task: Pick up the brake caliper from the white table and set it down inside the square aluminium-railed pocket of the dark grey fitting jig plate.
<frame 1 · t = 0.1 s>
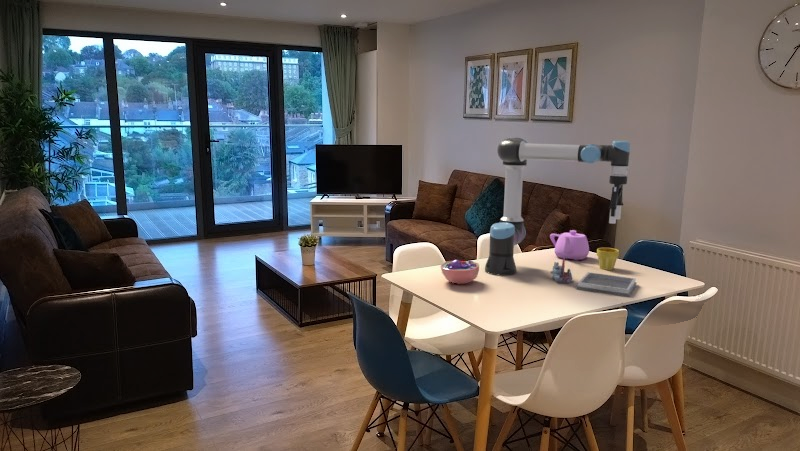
hand: (614, 221, 260), 28 cm above the table, fingers open, 13 cm apart
teapot: (571, 258, 309), on the table
plant pot: (606, 268, 287), on the table
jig: (606, 286, 253), on the table
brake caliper: (561, 281, 262), on the table
cell model: (459, 283, 257), on the table
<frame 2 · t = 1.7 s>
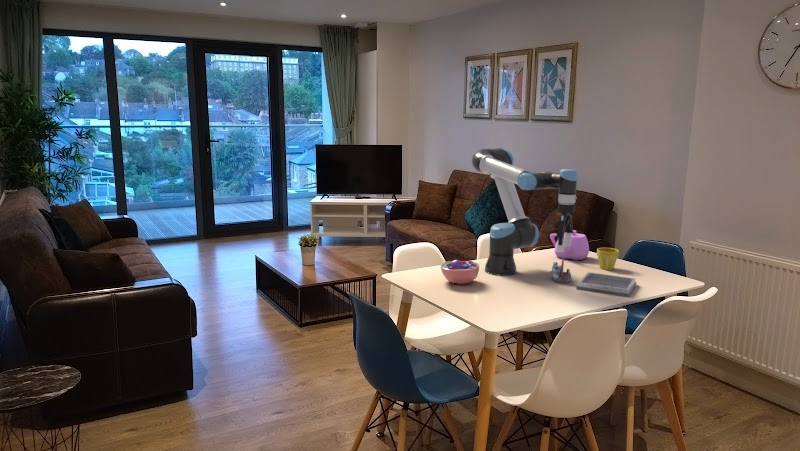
hand: (563, 249, 259), 15 cm above the table, fingers open, 13 cm apart
nothing on the table moved.
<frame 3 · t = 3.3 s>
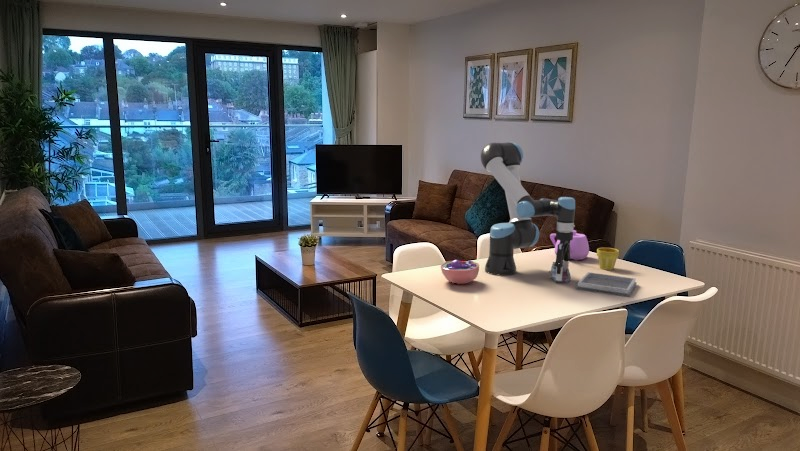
hand: (561, 277, 262), 2 cm above the table, fingers closed on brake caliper, 11 cm apart
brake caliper: (559, 281, 263), on the table, touching gripper
everything else where it was.
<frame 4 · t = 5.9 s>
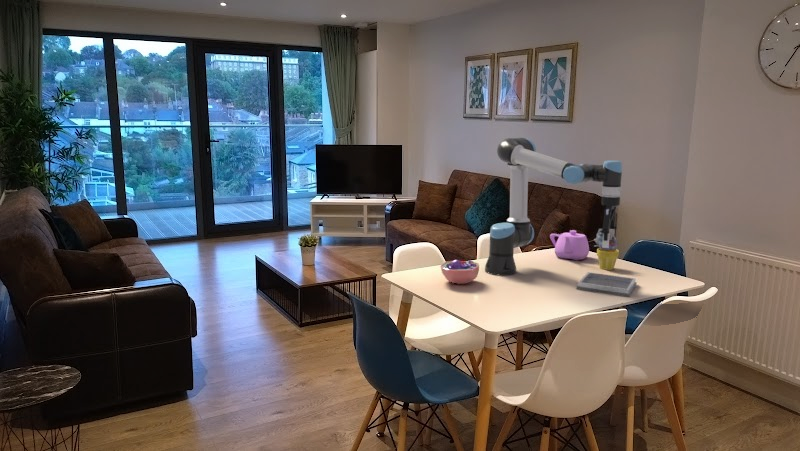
hand: (607, 245, 251), 19 cm above the table, fingers closed on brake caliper, 11 cm apart
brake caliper: (605, 249, 251), point 17 cm above the table, touching gripper
everything else where it was.
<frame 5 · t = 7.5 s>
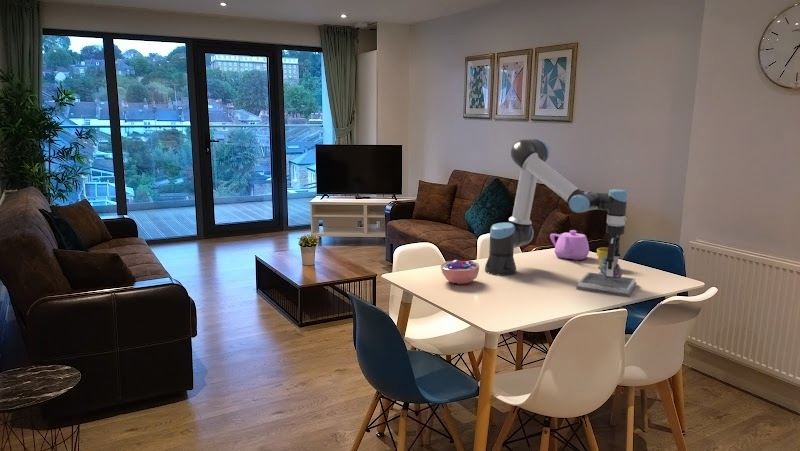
hand: (611, 273, 252), 6 cm above the table, fingers closed on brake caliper, 11 cm apart
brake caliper: (609, 276, 253), point 5 cm above the table, touching gripper
everything else where it was.
when the fingers open (4 cm above the table, at t = 8.7 s): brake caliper drops 1 cm, resting on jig.
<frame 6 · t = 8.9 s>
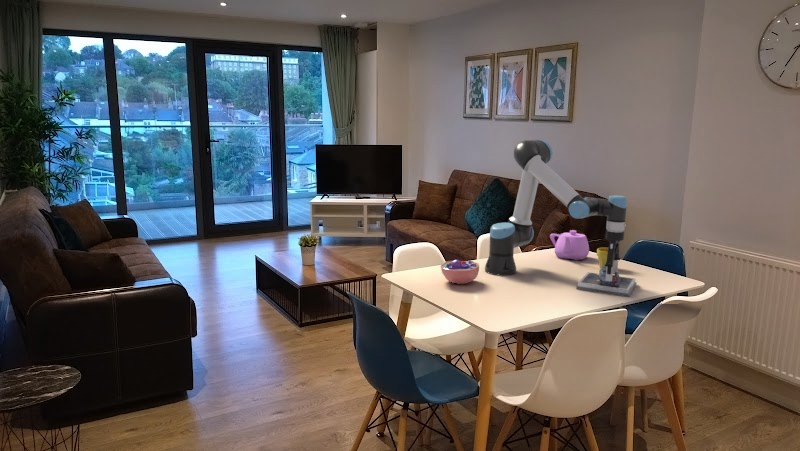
hand: (611, 277, 252), 4 cm above the table, fingers open, 13 cm apart
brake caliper: (608, 284, 254), point 1 cm above the table, touching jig
everything else where it was.
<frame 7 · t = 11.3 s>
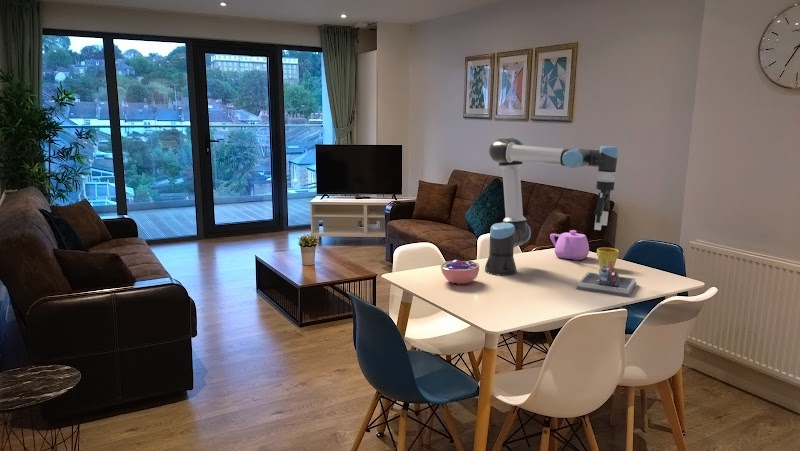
hand: (600, 227, 257), 26 cm above the table, fingers open, 13 cm apart
nothing on the table moved.
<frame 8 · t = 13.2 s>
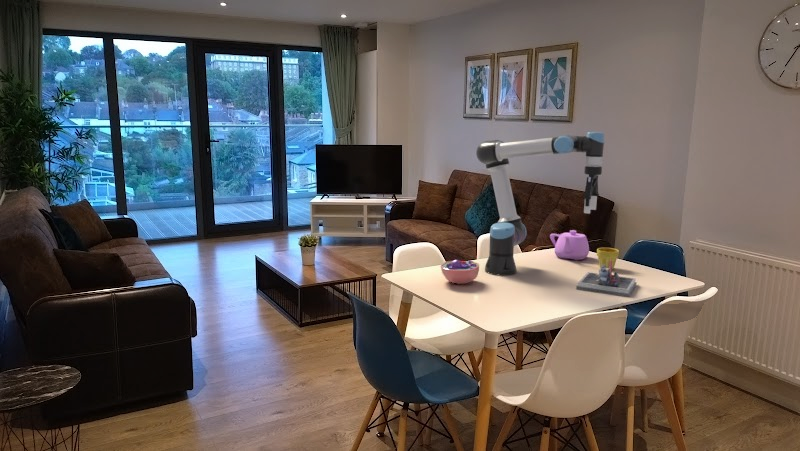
hand: (590, 211, 264), 32 cm above the table, fingers open, 13 cm apart
nothing on the table moved.
at the end: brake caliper inside the target area on the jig (0.7 cm from its centre), point 1.0 cm above the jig's base; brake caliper touching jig; the gripper is holding nothing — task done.
